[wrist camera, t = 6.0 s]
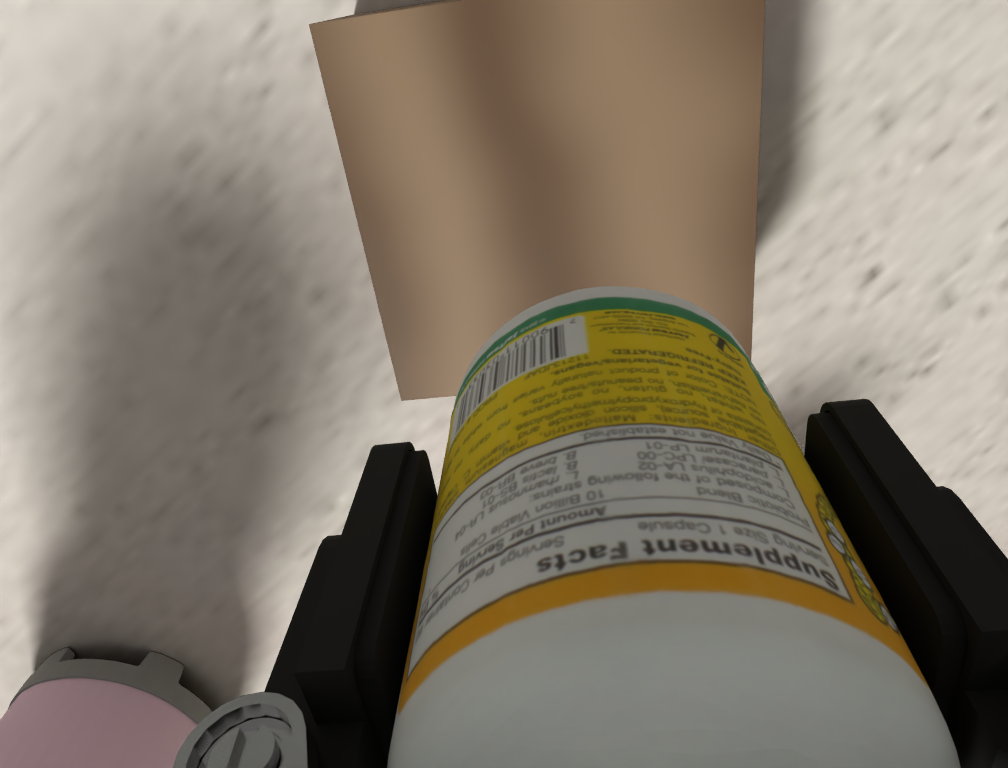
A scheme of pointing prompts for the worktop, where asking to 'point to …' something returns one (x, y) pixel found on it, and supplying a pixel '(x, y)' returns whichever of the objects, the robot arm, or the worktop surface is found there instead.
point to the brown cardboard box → (545, 161)
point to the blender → (99, 715)
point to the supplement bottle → (644, 567)
